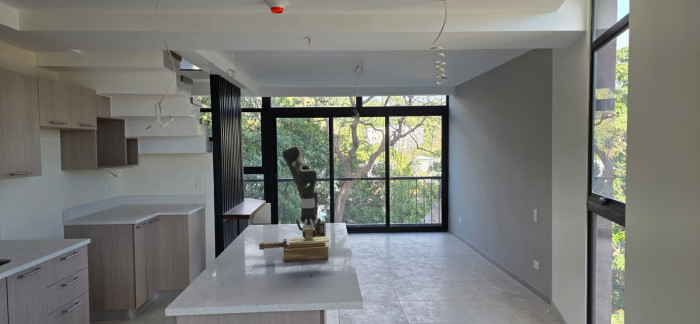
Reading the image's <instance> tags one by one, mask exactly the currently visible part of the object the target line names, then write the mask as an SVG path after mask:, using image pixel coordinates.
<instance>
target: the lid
mask: <svg viewBox="0 0 700 324" xmlns="http://www.w3.org/2000/svg"><path fill="white" fill-rule="evenodd" d="M324 242H326V243H330V239H329V238H328V236H327V235H326V237H314V238H313V229H312V228H305V238H304V237H299V238H289V243H288V244H290V245H294V244H309V243H324Z"/></svg>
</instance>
